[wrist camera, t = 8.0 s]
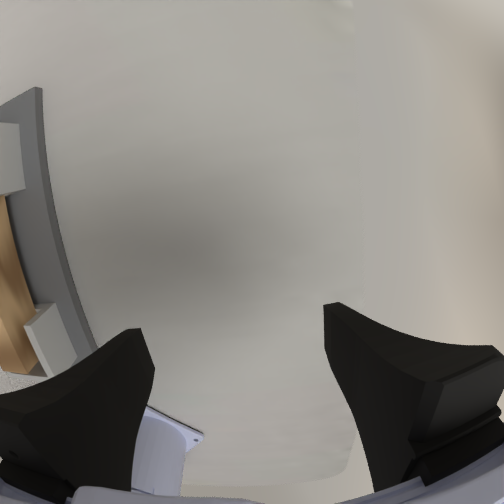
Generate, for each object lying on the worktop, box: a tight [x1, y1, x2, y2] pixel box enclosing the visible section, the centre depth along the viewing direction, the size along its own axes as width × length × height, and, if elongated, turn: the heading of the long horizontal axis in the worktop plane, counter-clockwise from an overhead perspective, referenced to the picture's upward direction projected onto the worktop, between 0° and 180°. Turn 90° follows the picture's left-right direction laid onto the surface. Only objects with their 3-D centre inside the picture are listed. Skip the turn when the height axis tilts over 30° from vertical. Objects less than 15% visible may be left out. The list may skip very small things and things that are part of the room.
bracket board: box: [0, 87, 98, 382], centre depth 17 cm, size 24×10×5 cm, turn 8°
